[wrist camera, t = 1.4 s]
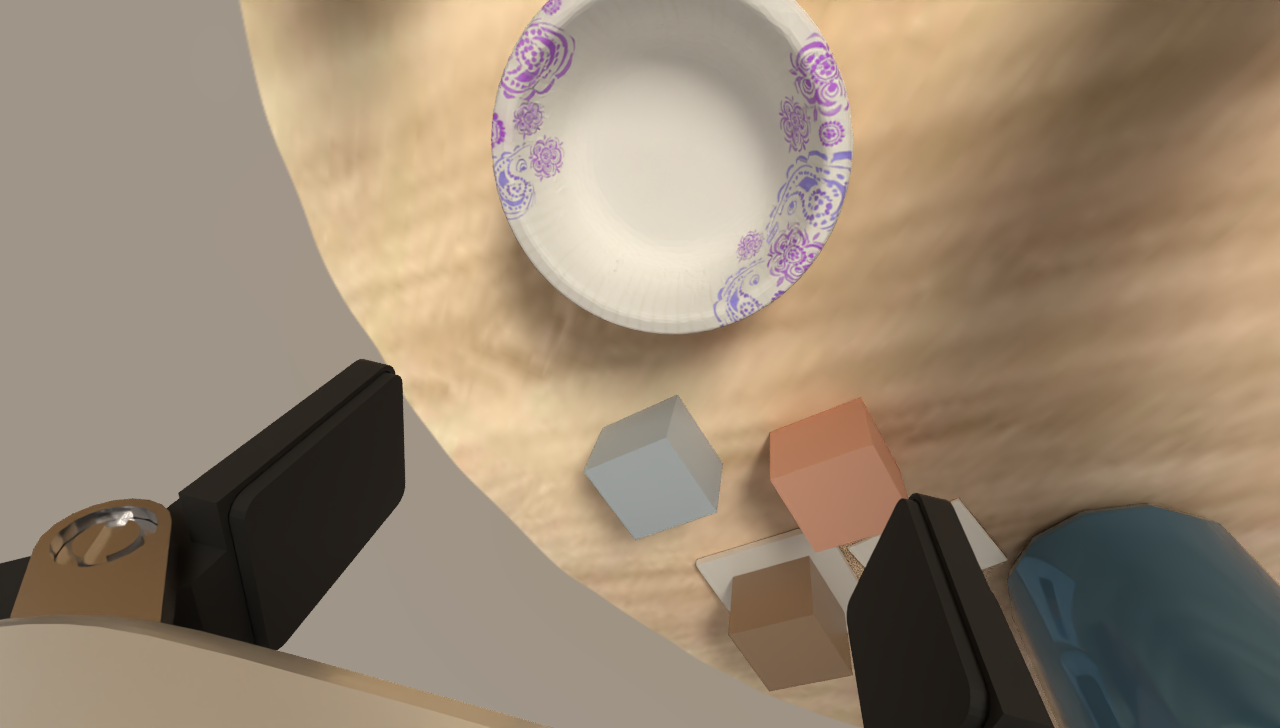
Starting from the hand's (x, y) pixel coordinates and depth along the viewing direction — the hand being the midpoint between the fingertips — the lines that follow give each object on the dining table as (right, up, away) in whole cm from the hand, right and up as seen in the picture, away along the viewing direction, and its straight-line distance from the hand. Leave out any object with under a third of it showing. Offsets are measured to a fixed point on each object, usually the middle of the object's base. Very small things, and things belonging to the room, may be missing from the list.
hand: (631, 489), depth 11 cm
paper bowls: (+3, +14, +20) cm, 25 cm away
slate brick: (+2, -3, +29) cm, 30 cm away
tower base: (+11, -14, +33) cm, 38 cm away
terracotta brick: (+13, -3, +27) cm, 30 cm away
